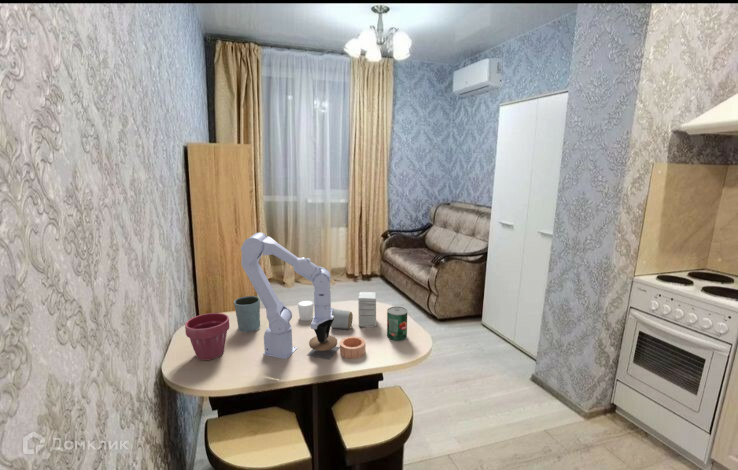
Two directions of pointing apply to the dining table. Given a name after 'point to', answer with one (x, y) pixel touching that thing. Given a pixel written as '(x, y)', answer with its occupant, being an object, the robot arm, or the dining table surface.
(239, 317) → the teal cup
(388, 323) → the canned tomato
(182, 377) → the dining table surface
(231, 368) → the dining table surface
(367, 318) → the supplement box
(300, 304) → the shot glass
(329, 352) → the charcoal mat
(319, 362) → the dining table surface
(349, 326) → the ceramic mug
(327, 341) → the walnut lid
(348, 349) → the terracotta bowl
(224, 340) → the plant pot
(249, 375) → the dining table surface
